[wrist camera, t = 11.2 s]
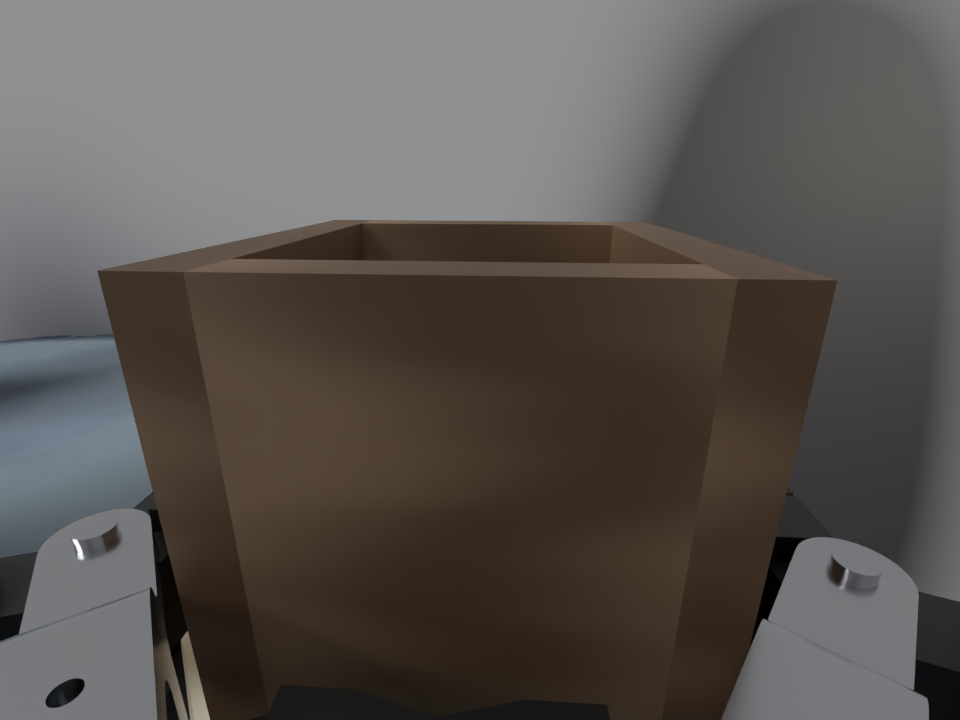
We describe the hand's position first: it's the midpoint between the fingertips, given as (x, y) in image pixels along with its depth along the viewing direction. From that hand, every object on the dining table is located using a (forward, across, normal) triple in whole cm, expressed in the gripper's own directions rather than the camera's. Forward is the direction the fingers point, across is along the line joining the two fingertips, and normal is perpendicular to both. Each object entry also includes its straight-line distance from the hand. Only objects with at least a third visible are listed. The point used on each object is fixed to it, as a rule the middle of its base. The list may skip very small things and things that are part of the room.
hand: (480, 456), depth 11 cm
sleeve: (-2, 0, +9) cm, 9 cm away
